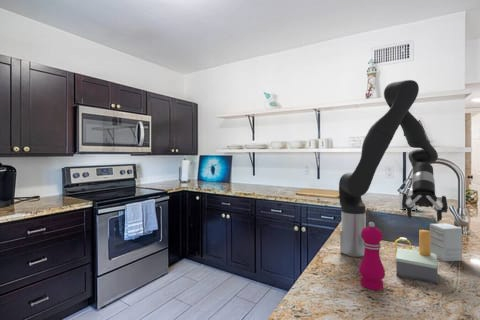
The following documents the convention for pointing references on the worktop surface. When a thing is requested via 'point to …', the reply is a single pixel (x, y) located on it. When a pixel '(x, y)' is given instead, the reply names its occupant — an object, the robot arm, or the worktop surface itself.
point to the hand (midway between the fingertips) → (424, 218)
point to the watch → (403, 240)
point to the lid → (419, 252)
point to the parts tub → (416, 272)
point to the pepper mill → (371, 259)
